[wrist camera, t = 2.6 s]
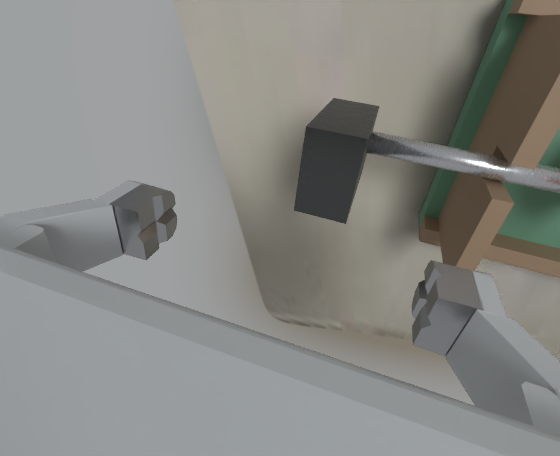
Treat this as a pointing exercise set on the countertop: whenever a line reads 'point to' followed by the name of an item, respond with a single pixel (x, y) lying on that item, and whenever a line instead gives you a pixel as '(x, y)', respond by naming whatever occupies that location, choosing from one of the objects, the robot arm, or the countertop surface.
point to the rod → (361, 140)
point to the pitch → (505, 150)
